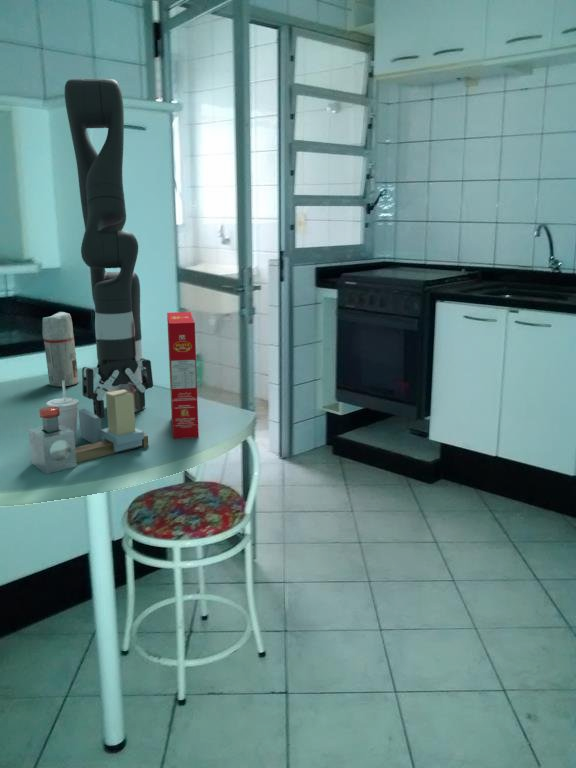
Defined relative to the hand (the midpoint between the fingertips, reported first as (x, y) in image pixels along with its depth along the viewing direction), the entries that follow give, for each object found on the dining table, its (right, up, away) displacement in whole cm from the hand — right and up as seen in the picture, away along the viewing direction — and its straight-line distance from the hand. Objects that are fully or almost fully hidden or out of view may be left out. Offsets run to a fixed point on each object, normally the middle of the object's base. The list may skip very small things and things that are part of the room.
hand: (120, 413), depth 139 cm
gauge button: (-11, -6, -8) cm, 15 cm away
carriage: (-3, -6, +5) cm, 8 cm away
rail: (-3, -8, 0) cm, 8 cm away
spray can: (-29, +6, +53) cm, 60 cm away
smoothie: (-12, -7, +3) cm, 14 cm away
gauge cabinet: (-11, -10, -7) cm, 16 cm away
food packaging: (+11, -4, +15) cm, 19 cm away
